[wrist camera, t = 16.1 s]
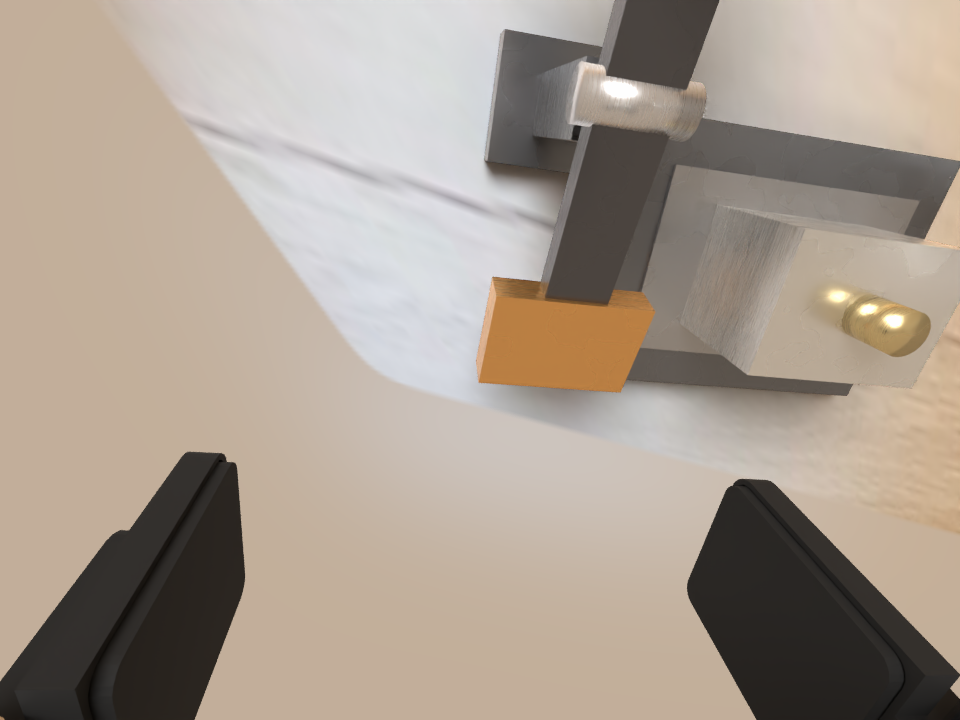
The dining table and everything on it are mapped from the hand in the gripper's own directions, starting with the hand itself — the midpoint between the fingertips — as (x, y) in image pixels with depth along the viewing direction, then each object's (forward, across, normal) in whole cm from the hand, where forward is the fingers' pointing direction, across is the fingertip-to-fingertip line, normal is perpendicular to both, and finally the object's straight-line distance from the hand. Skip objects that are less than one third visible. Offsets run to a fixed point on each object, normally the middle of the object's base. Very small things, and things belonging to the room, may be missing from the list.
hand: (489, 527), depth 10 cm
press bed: (+18, -13, -3) cm, 22 cm away
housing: (+16, -16, -2) cm, 23 cm away
